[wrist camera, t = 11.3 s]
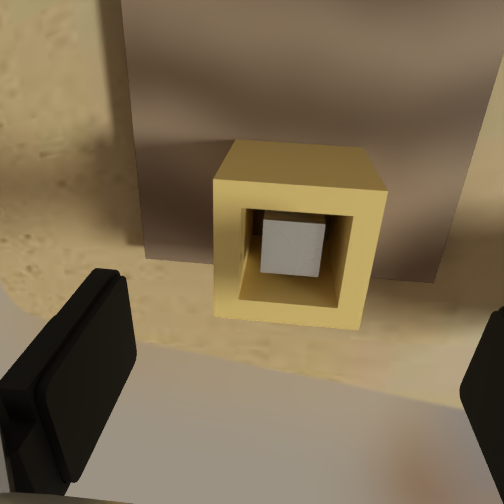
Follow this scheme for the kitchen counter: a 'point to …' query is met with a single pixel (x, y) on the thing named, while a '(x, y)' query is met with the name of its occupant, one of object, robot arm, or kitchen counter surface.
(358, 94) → the post board
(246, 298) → the collar
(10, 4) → the kitchen counter surface
